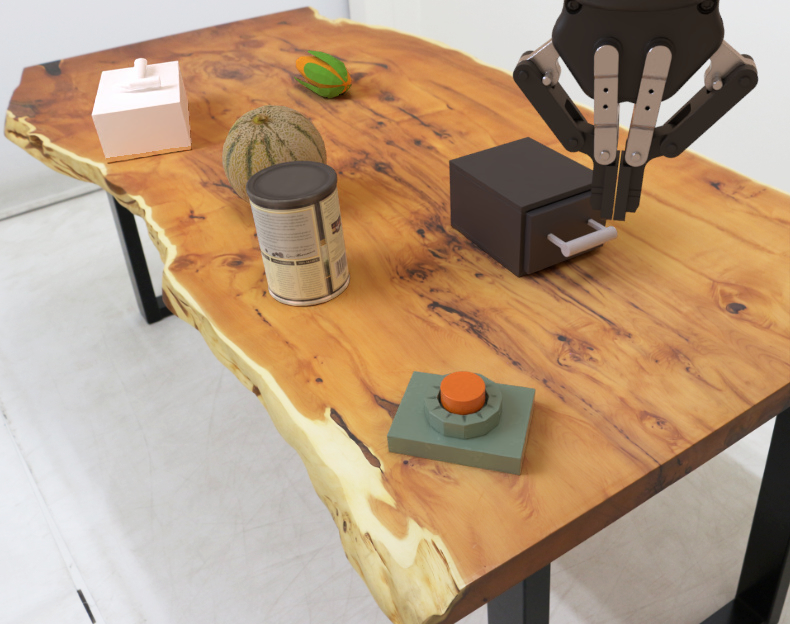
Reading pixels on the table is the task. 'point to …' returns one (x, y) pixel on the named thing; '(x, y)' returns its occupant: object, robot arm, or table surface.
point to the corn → (324, 74)
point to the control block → (464, 426)
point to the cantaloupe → (269, 143)
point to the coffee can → (300, 231)
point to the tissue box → (141, 109)
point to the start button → (462, 393)
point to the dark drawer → (563, 232)
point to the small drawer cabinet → (509, 194)
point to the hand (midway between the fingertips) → (613, 214)
